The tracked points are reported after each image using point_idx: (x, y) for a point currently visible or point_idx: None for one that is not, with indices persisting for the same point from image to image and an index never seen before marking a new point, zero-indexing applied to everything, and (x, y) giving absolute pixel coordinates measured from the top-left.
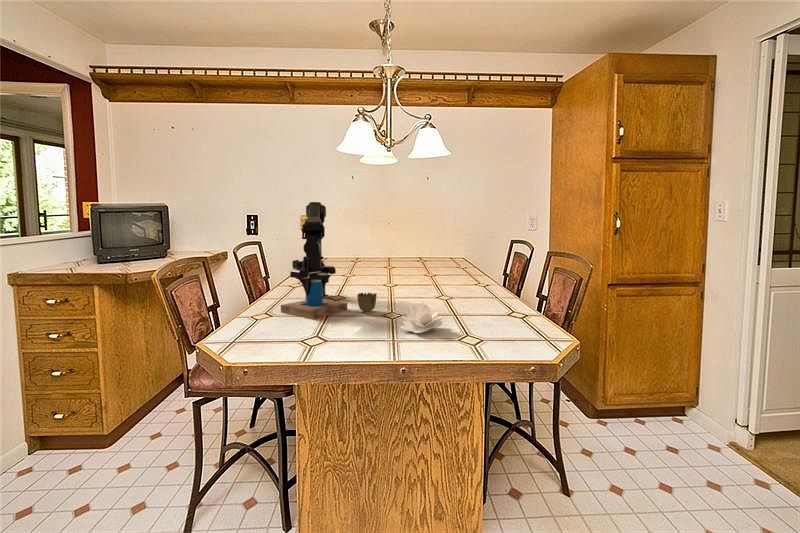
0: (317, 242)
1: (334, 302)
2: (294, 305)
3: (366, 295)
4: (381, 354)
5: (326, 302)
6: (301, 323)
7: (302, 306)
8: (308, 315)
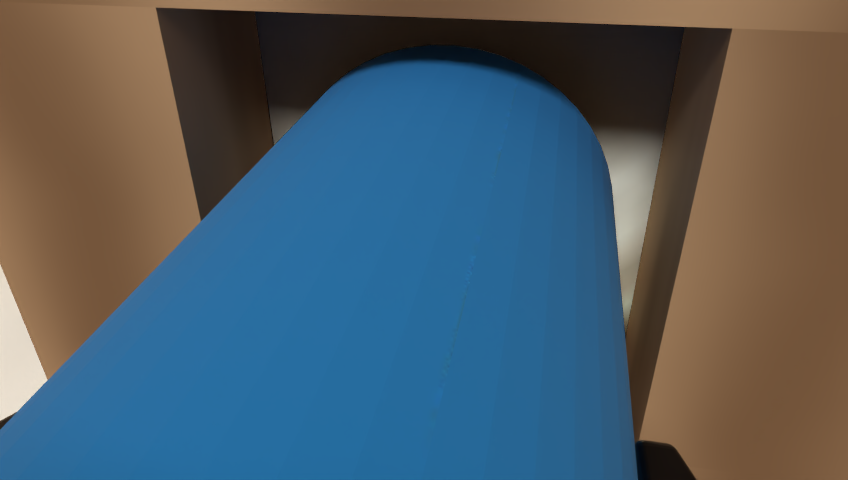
0: None
1: (788, 472)
2: (27, 21)
3: None
4: None
5: (714, 358)
6: (5, 396)
7: (113, 235)
8: None
